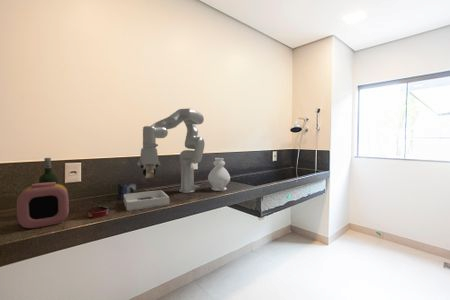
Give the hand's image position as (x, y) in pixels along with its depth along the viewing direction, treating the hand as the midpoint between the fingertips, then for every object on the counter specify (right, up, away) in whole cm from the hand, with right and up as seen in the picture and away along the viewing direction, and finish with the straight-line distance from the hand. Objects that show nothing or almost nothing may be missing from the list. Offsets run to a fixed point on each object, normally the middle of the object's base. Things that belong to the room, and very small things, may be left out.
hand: (149, 175), depth 140 cm
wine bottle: (-48, -19, -19) cm, 54 cm away
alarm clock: (-39, -20, -33) cm, 54 cm away
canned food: (-20, -19, -20) cm, 35 cm away
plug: (0, -1, 0) cm, 1 cm away
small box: (-19, -17, +12) cm, 29 cm away
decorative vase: (+43, -16, +41) cm, 61 cm away
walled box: (-2, -18, 0) cm, 18 cm away
